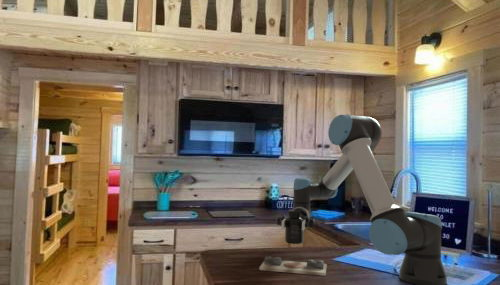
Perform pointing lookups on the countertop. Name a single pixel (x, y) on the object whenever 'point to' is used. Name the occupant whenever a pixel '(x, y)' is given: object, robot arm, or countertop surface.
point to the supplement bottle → (294, 227)
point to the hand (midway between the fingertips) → (292, 225)
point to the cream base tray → (294, 266)
